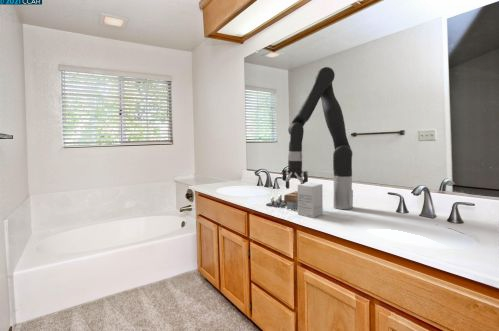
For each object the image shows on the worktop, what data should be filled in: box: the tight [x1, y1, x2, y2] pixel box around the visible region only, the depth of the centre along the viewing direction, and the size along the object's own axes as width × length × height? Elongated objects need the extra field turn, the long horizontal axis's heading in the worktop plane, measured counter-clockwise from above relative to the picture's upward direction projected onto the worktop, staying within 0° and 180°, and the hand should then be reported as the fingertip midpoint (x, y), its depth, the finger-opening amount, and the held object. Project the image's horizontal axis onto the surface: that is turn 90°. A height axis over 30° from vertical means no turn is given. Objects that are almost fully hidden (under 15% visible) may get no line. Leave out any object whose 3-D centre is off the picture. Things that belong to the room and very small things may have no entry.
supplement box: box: [297, 182, 324, 218], centre depth 134 cm, size 9×9×15 cm
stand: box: [286, 202, 298, 211], centre depth 151 cm, size 14×3×4 cm, turn 144°
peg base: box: [265, 194, 287, 208], centre depth 158 cm, size 9×14×4 cm, turn 145°
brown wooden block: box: [283, 190, 298, 203], centre depth 151 cm, size 14×6×4 cm, turn 144°
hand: (294, 189), depth 151 cm, fingers open, 8 cm apart
